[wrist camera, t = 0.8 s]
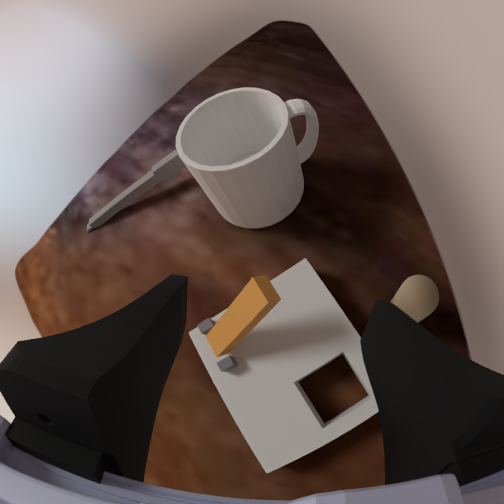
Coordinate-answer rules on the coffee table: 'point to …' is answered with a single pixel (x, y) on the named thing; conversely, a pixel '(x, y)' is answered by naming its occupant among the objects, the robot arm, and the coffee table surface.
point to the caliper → (139, 188)
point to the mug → (248, 154)
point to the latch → (243, 315)
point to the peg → (417, 297)
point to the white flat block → (287, 370)
